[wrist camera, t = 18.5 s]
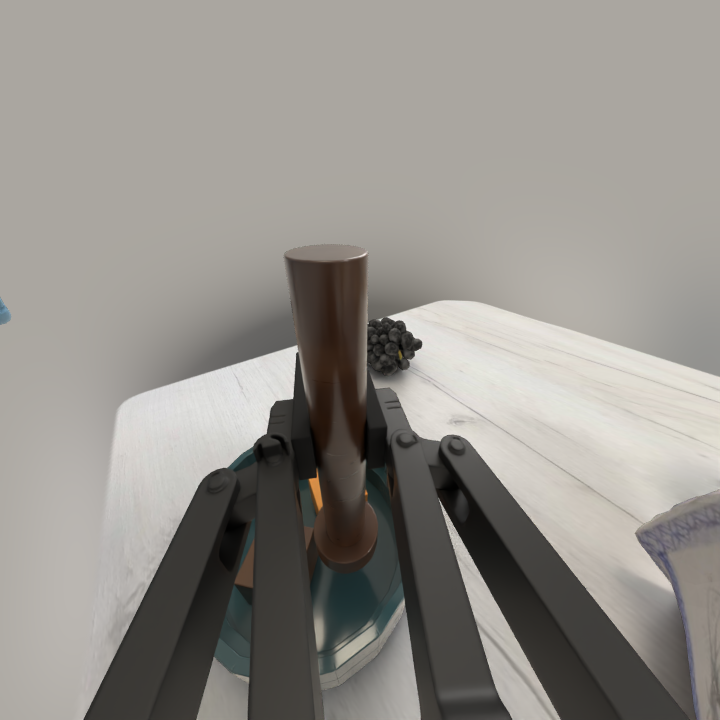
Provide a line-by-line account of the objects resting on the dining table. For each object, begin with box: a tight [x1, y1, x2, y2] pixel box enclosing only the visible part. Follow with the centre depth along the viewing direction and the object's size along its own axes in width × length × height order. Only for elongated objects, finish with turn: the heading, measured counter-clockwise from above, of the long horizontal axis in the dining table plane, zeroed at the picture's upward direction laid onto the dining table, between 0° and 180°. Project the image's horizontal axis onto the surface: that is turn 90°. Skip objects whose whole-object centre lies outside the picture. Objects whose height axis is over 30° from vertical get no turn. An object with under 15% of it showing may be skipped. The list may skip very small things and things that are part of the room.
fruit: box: [367, 317, 422, 376], centre depth 44 cm, size 9×8×15 cm
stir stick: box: [284, 244, 378, 574], centre depth 12 cm, size 4×4×18 cm
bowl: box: [214, 447, 405, 691], centre depth 21 cm, size 16×16×6 cm
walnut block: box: [234, 526, 318, 605], centre depth 19 cm, size 4×4×4 cm
